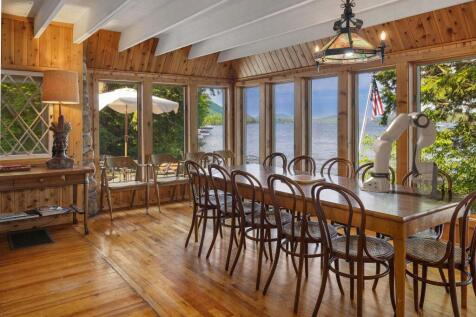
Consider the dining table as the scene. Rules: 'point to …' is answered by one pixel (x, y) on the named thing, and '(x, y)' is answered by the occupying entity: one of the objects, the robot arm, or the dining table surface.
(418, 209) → the dining table surface
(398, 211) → the dining table surface
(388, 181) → the robot arm
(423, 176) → the link
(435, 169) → the stand
